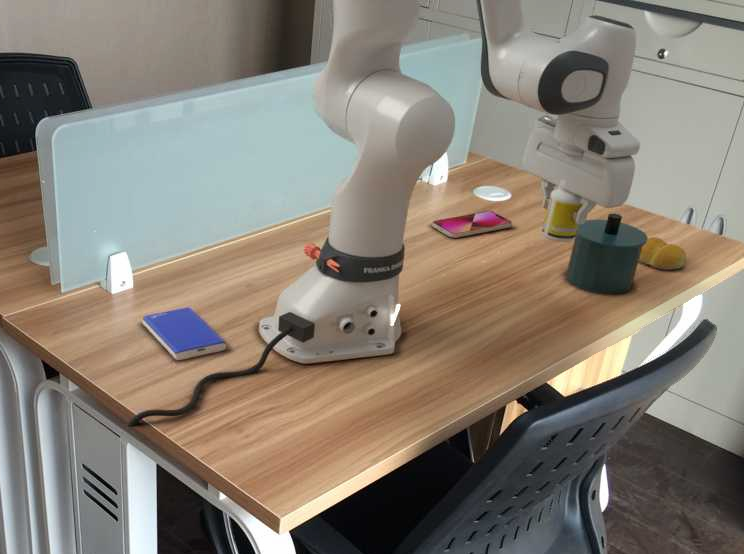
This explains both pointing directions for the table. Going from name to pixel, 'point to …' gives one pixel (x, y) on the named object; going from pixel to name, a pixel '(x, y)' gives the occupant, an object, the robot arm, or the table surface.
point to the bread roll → (662, 254)
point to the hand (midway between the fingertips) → (563, 215)
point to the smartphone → (471, 224)
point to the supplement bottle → (561, 215)
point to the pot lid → (611, 233)
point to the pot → (602, 267)
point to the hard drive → (183, 333)
